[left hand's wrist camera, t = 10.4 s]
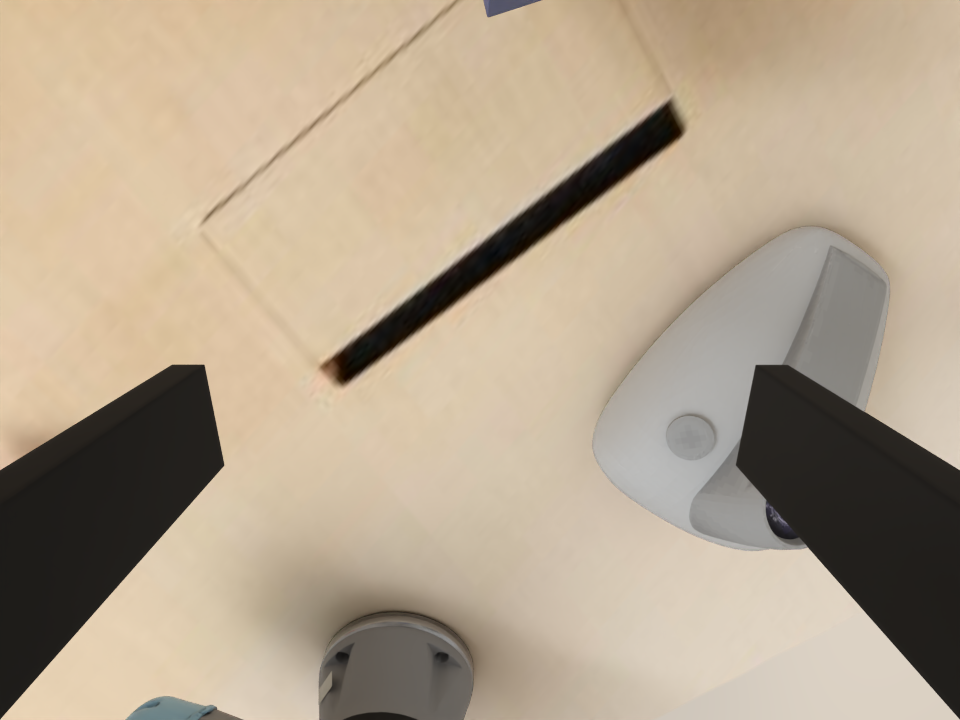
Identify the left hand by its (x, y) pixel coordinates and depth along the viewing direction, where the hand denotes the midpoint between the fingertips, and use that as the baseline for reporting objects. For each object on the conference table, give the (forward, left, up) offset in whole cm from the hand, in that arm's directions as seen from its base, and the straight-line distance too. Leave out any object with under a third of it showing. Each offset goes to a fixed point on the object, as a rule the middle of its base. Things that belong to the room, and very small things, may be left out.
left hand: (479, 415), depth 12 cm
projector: (-9, -20, -27) cm, 35 cm away
